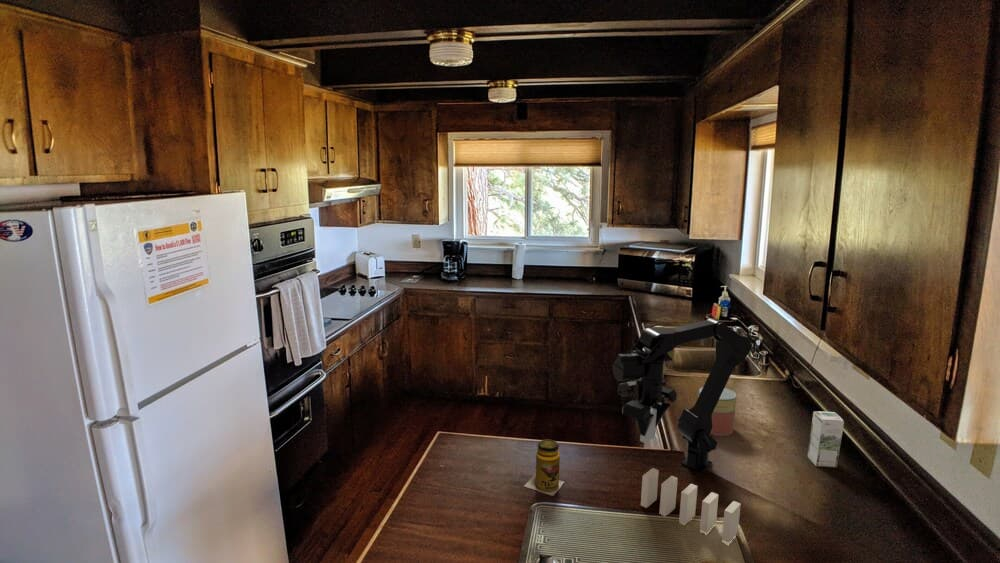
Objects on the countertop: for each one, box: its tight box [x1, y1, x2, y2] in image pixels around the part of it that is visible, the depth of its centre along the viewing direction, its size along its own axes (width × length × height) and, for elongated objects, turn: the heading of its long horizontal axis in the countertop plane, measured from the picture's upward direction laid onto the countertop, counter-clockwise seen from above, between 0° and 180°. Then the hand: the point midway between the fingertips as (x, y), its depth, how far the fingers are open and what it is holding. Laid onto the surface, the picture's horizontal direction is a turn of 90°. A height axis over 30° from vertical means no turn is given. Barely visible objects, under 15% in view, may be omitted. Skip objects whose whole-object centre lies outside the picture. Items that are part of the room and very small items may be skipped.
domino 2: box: [640, 467, 659, 509], centre depth 137 cm, size 5×2×8 cm, turn 136°
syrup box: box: [807, 410, 845, 468], centre depth 157 cm, size 6×6×14 cm
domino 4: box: [678, 483, 699, 524], centre depth 131 cm, size 5×2×8 cm, turn 136°
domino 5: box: [699, 491, 720, 533], centre depth 127 cm, size 5×2×8 cm, turn 136°
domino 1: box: [639, 408, 657, 444], centre depth 149 cm, size 5×2×8 cm, turn 136°
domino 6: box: [721, 500, 742, 542], centre depth 124 cm, size 5×2×8 cm, turn 136°
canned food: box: [697, 386, 738, 437], centre depth 178 cm, size 11×11×12 cm
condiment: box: [523, 438, 565, 497], centre depth 144 cm, size 7×8×12 cm
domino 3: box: [658, 475, 679, 517], centre depth 134 cm, size 5×2×8 cm, turn 136°
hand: (648, 431), depth 149 cm, fingers closed on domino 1, 5 cm apart
